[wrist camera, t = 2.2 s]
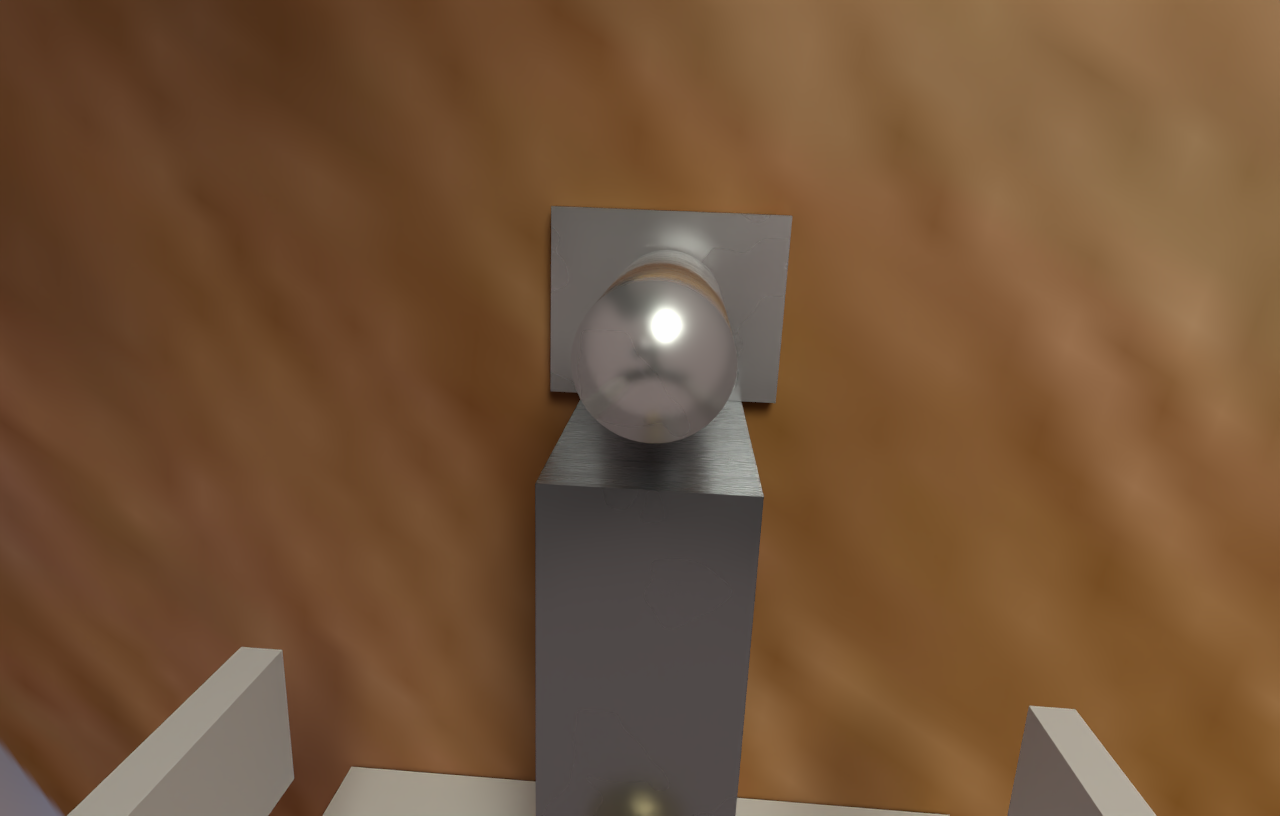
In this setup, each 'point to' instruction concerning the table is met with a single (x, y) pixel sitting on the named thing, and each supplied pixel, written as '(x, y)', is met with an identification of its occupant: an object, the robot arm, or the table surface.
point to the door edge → (504, 798)
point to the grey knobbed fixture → (666, 314)
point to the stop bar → (644, 619)
